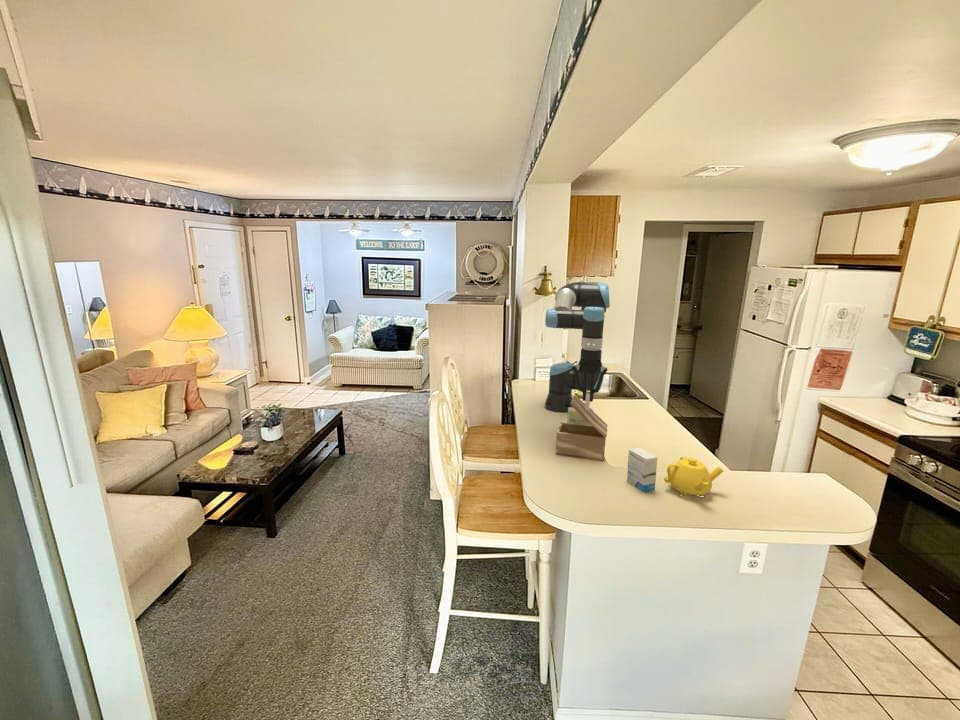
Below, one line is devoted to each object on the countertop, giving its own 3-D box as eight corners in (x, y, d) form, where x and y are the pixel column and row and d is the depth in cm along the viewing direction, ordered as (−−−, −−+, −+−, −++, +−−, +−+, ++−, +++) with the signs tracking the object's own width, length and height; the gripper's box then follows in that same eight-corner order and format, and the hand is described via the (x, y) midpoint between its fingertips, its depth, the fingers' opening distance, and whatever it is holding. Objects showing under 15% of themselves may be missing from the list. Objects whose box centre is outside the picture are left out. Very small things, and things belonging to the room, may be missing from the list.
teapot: (703, 508, 126) (708, 474, 124) (659, 490, 136) (663, 458, 134) (721, 492, 135) (726, 460, 133) (678, 477, 145) (682, 447, 143)
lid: (573, 395, 168) (575, 394, 167) (605, 426, 166) (607, 424, 166) (570, 404, 156) (571, 403, 156) (605, 437, 154) (606, 436, 154)
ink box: (655, 490, 136) (659, 457, 133) (642, 493, 134) (646, 459, 132) (637, 478, 144) (640, 446, 141) (625, 480, 142) (628, 448, 140)
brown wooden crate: (559, 442, 173) (560, 422, 171) (604, 448, 168) (606, 427, 166) (555, 454, 162) (556, 432, 160) (603, 461, 156) (605, 438, 155)
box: (590, 433, 184) (592, 407, 181) (592, 438, 178) (594, 412, 175) (566, 432, 184) (567, 406, 182) (567, 437, 179) (569, 411, 176)
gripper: (572, 349, 154) (568, 410, 159) (609, 351, 150) (604, 414, 155) (574, 345, 161) (570, 404, 166) (609, 348, 157) (605, 408, 162)
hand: (587, 409), depth 160 cm, fingers closed
